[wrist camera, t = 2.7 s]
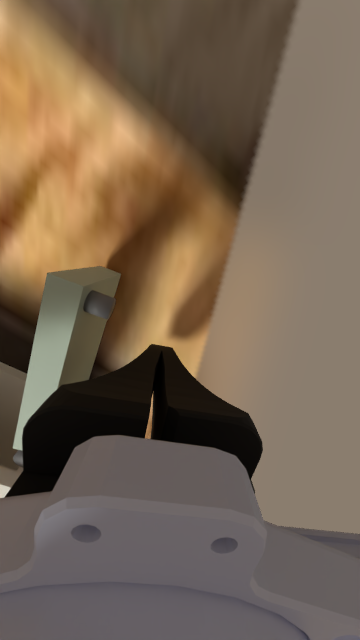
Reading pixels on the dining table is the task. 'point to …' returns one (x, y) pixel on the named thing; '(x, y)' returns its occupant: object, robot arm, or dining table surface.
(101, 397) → the robot arm
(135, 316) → the dining table surface
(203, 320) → the dining table surface
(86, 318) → the door
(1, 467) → the cabinet
